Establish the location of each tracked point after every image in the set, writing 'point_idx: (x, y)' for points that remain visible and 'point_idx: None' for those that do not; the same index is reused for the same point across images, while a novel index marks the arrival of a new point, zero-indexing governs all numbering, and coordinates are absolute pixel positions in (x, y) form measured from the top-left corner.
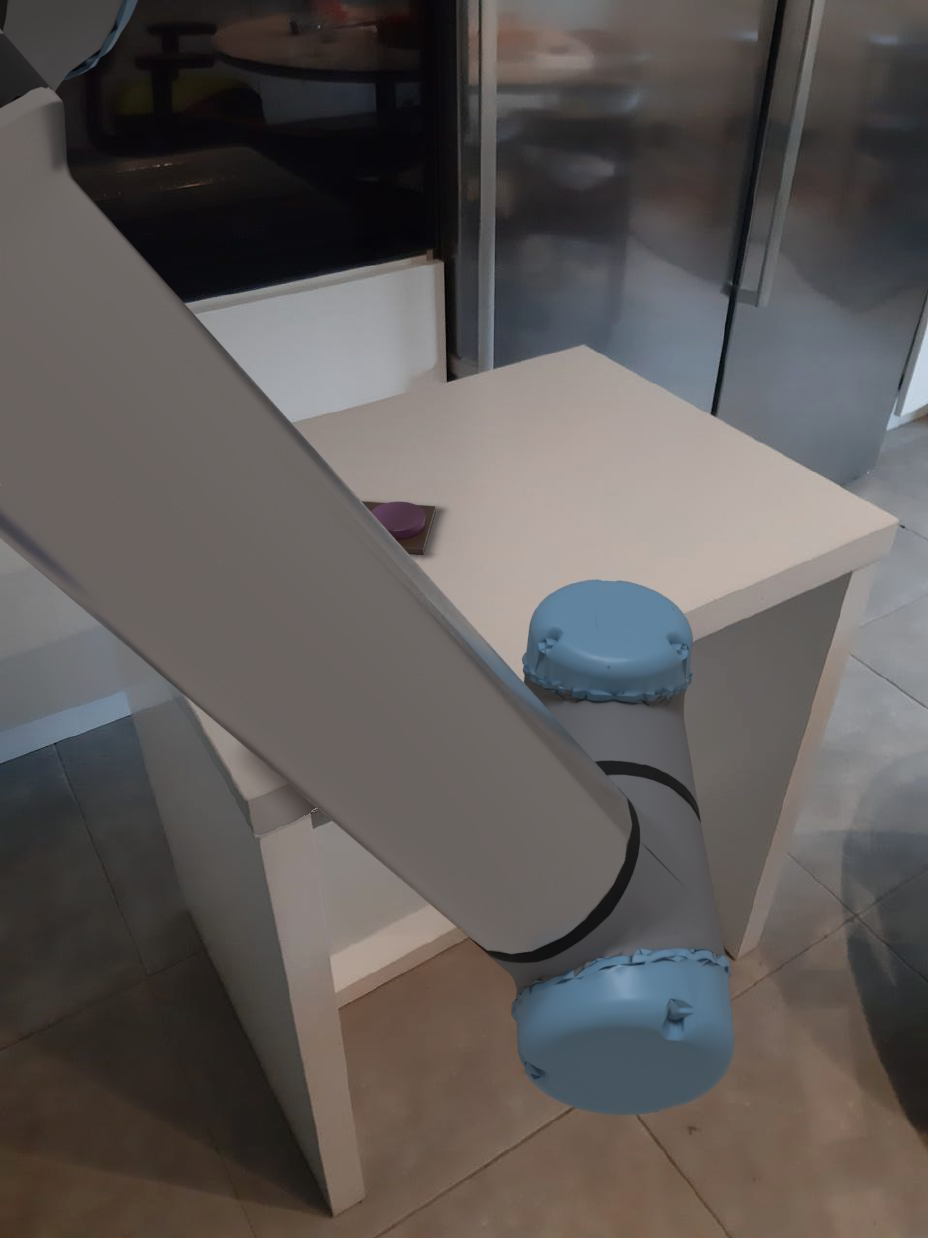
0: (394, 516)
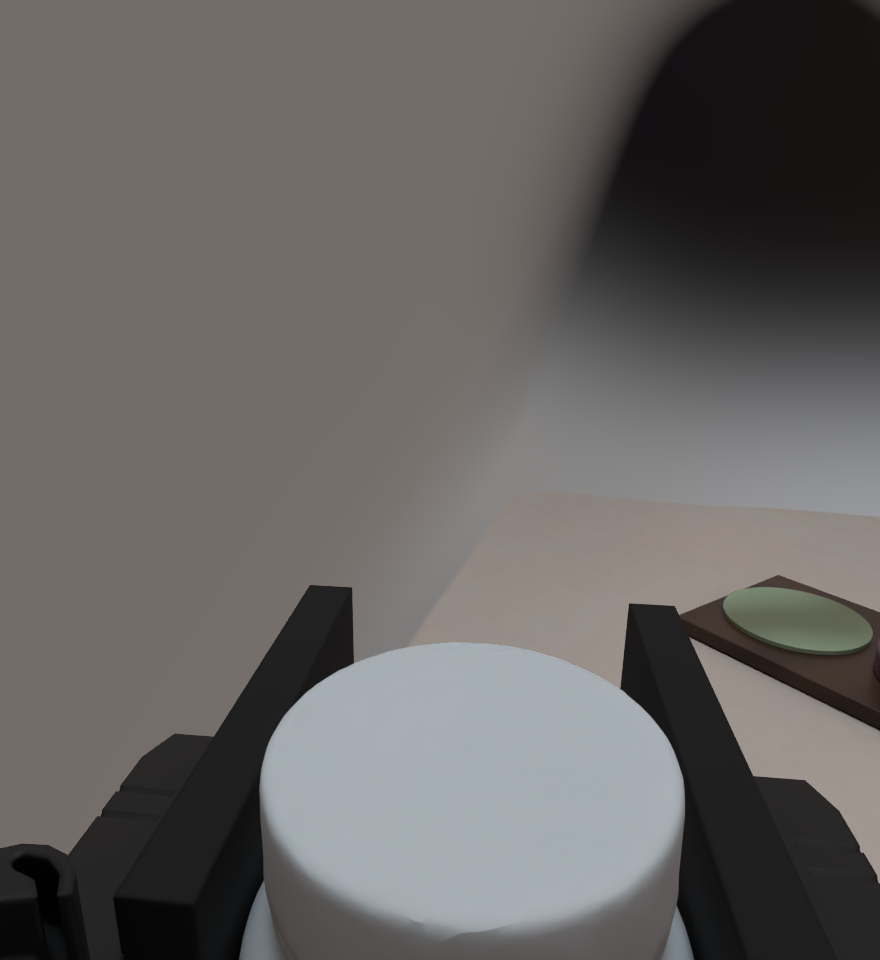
0: None
